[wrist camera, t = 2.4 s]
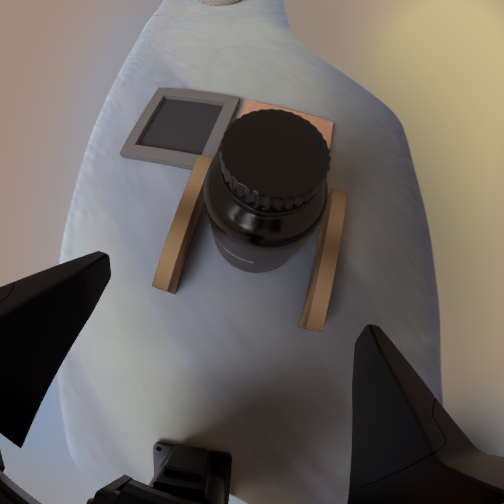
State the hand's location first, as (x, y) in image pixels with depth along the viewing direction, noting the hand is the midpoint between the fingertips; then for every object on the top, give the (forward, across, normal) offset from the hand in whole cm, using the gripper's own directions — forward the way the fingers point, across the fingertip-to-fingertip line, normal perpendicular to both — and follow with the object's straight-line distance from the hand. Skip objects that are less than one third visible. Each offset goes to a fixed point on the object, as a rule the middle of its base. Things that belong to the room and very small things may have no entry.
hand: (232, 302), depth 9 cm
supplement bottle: (+14, 0, +4) cm, 15 cm away
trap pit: (+20, +10, -2) cm, 22 cm away
